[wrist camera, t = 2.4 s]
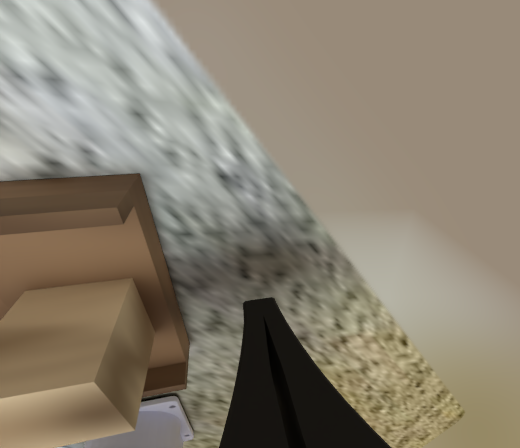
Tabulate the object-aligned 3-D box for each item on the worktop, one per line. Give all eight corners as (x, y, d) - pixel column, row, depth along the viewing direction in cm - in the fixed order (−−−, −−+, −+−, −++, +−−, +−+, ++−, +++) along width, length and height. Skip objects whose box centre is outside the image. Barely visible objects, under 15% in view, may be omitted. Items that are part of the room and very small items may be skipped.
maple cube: (155, 332, 12) (135, 430, 9) (70, 345, 11) (13, 456, 8) (132, 278, 10) (93, 382, 7) (24, 290, 9) (-76, 412, 6)
